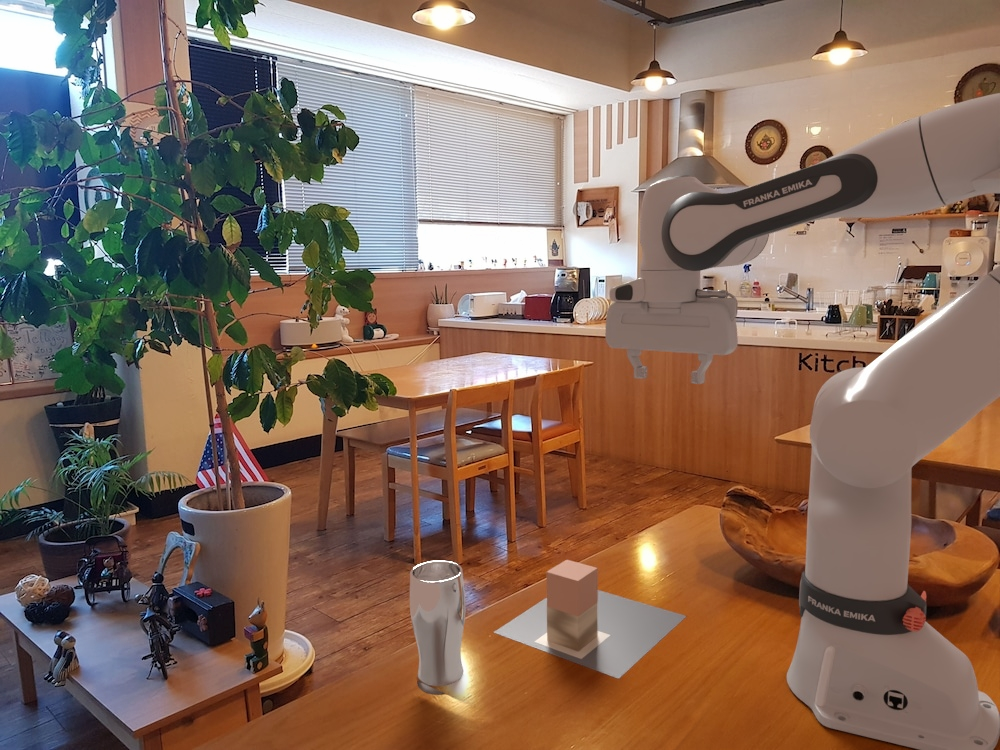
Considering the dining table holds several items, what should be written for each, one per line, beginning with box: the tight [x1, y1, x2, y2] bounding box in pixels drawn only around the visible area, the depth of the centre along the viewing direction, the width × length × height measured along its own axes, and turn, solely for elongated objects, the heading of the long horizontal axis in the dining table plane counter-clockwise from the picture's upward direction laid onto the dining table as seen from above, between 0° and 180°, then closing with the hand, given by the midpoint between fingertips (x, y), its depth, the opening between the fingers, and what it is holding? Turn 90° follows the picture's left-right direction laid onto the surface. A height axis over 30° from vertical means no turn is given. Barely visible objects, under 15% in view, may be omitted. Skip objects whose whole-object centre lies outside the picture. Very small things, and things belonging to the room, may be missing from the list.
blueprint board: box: [493, 589, 687, 680], centre depth 107 cm, size 20×20×1 cm
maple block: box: [547, 603, 598, 651], centre depth 103 cm, size 5×5×5 cm
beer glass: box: [409, 560, 466, 696], centre depth 94 cm, size 7×7×15 cm
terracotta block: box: [546, 559, 599, 616], centre depth 102 cm, size 5×5×5 cm
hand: (668, 380), depth 114 cm, fingers open, 8 cm apart
